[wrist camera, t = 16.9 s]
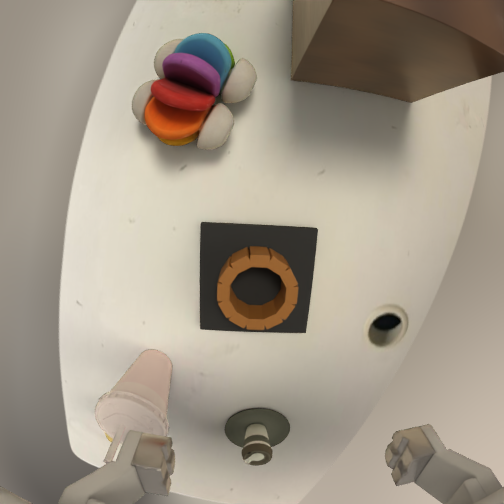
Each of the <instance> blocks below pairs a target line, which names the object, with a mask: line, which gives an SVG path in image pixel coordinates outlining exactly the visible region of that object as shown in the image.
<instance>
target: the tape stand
mask: <svg viewBox="0 0 504 504" xmlns="http://www.w3.org/2000/svg"><path fill="white" fill-rule="evenodd" d="M501 72H504V0H293V18H292V60H291V80H294V81H302V82H310V83H318V84H325V85H331V86H337V87H343V88H349V89H354V90H359V91H364V92H369V93H374V94H378V95H383V96H387V97H391V98H395V99H399V100H403V101H407V102H410V103H412V102H415V101H417V100H420V99H423V98H425V97H428V96H431V95H434V94H436V93H439V92H442V91H445V90H448V89H451V88H454V87H457V86H460V85H463V84H466V83H469V82H472V81H475V80H478V79H481V78H484V77H488V76H491V75H494V74H497V73H501Z"/></svg>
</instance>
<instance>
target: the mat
mask: <svg viewBox="0 0 504 504" xmlns="http://www.w3.org/2000/svg"><path fill="white" fill-rule="evenodd" d="M317 232H318V229H317V228H309V227H292V226H274V225H255V224H233V223H210V222H202V223H201V238H200V329H205V330H223V331H244V332H279V333H306V327H307V320H308V312H309V304H310V297H311V288H312V280H313V271H314V262H315V253H316V243H317ZM250 246H259V247H267V248H268V249H269V248H271V249H273V250H274V251H276V252H277V253H279V254H280V255H282V256H283V257H284V259H286V260H287V262H288V264H289V266H290V268H291V270H292V273H293V275H294V277H295V279H296V281H297V283H298V287H299V288H298V297H297V304H295V308H294V309H293V310H292V312H291V313H290V314H289V316H288V317H287V318H286V320H284V319H282V320H283V322H282V323H280V324H278V325H276V326H274V327H271V328H269V329H266V327H265V329H264V330H249V329H246V327H245V328H242V327H240V326H238V325H236V324H235V323H233V322H231V321H229V318H226V317H225V315H224V313H223V312H222V310H221V308H220V307H219V305H218V301H217V283H218V279H219V275H220V272H221V269H222V267H223V266H224V264H225V263H226V261H227V260H228V258H229V257H230V256H231V257H232V254H234V253H236V252H237V251H239V250H241V249H243V248H245V247H248V249H249V250H250ZM281 280H282V279H281V277H280V275H278V274H276V273H275V272H273V271H272V270H270V269H268V268H260V267H251V268H249V269H247V270H245V271H243V272H241V273H239V274H238V275H237V276H236V278H235V279H234V281H233V282H232V284H231V288H232V290H233V292H234V293H235V295H236V297H237V298H238V299H239V300H241V301H243V302H244V303H246V304H248V305H263V304H265V303H267V302H269V301H272V300H273V299H274V298H275V297H276V295H277V294H278V293H279V291H280V290H281Z"/></svg>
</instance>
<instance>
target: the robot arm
mask: <svg viewBox="0 0 504 504" xmlns="http://www.w3.org/2000/svg"><path fill="white" fill-rule="evenodd" d="M392 439H393V441H392V442H391V443H390V444H389V445H388V446H387V449H386V452H385V459H386V463H387V466H388V467H390V468H392V469H393V471H392V473H391V475H392V477H393V480H394V482H395V484H396V486H399V485H403V484H407V483H411V482H415V483H416V484H417V485H418V486H420V487H421V488H422V489H424V490H425V491H426V492H428V493H429V494H430V495H432V496H433V497H435V498H436V499H437V500H439V501H440V502H441V503H443V504H504V487H502V486H501V484H500V483H499V481H498V480H497V478H496V477H495V475H494V473H493V472H492V470H491V469H490V468H488V467H486V466H484V465H481V464H479V463H477V462H475V461H473V460H471V459H469V458H467V457H465V456H463V455H461V454H459V453H457V452H454V451H453V450H451V449H448V450H447V449H446V447H445V446H444V444H443V443H442V441H441V440H440V438H439V436H438V435H437V433H436V432H435V430H434V429H433V427H432V426H431V425H429V424H427V425H423V426H419V427H414V428H409V429H405V430H400V431H396V432H395V433H394V434H393V437H392ZM172 444H173V443H172V438H171V437H165V436H160V435H154V434H149V433H144V432H138V431H133V430H130V431H129V432H128V433H127V435H126V437H125V440H124V442H123V445H122V447H121V449H120V452H119V454H118V457H117V459H116V462H115V461H111V462H109V463H108V464H106V465H104V466H103V467H101V468H99V469H98V470H96V471H94V472H92V473H91V474H89V475H87V476H86V477H84V478H82V479H80V480H79V481H77V482H75V483H73V484H71V485H70V486H68V487H66V488H65V490H64V492H63V494H62V496H61V498H60V500H59V502H58V504H134V503H135V502H136V501H137V500H139V499H140V498H141V497H142V496H143V495H144V494H145V493H151V494H157V495H164V496H168V495H169V491H170V486H171V479H170V475H172V474H173V472H174V467H175V453H174V450H173V449H171V448H172ZM0 504H32V503H30V502H28V501H27V500H25V499H23V498H21V497H19V496H17V495H15V494H13V493H12V492H10V491H8V490H6V489H5V488H3V487H1V486H0Z"/></svg>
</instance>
